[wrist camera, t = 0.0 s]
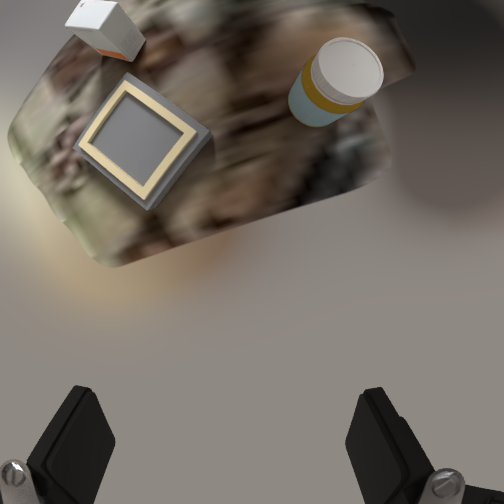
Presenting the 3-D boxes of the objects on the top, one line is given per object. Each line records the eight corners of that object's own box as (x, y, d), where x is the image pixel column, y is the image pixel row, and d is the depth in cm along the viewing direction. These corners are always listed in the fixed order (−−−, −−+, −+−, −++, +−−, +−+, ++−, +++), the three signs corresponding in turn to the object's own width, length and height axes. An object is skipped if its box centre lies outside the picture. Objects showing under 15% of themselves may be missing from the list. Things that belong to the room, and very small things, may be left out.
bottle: (297, 72, 33) (326, 21, 19) (344, 93, 34) (394, 57, 20) (279, 115, 35) (302, 80, 20) (328, 136, 36) (376, 116, 21)
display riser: (137, 80, 33) (124, 70, 28) (212, 135, 35) (208, 129, 31) (86, 149, 35) (69, 147, 30) (156, 207, 37) (145, 211, 33)
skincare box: (101, 56, 31) (62, 26, 20) (115, 33, 30) (81, -2, 19) (133, 63, 32) (98, 30, 20) (147, 39, 31) (118, 0, 19)
